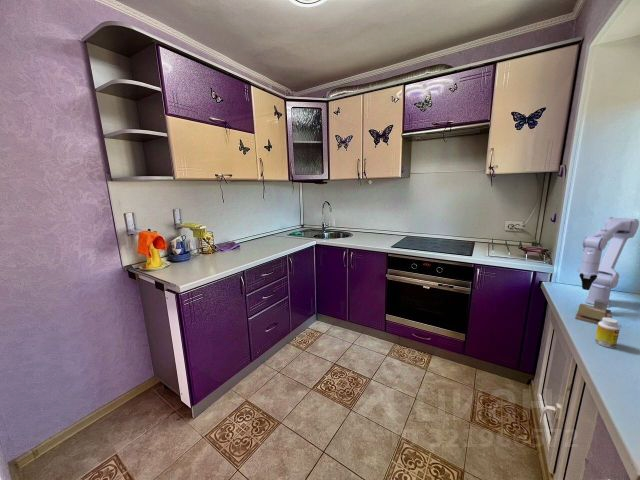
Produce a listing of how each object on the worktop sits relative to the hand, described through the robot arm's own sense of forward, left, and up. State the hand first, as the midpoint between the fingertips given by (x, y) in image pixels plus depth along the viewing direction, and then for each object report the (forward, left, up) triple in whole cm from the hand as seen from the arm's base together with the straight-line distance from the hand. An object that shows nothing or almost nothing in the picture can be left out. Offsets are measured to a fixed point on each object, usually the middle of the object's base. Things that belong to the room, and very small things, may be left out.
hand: (585, 289), depth 124 cm
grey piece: (+5, +6, -9) cm, 12 cm away
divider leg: (+11, +4, -9) cm, 15 cm away
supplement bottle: (+31, +9, -11) cm, 34 cm away
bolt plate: (+4, +4, -10) cm, 12 cm away
